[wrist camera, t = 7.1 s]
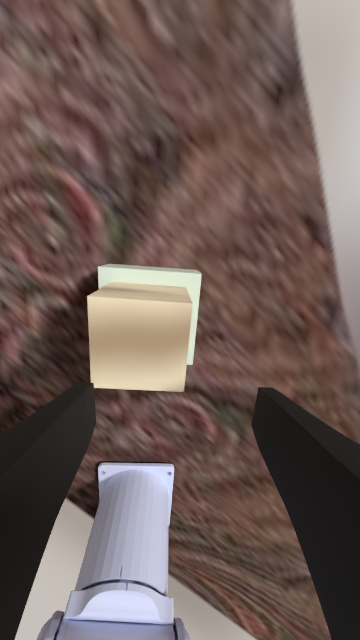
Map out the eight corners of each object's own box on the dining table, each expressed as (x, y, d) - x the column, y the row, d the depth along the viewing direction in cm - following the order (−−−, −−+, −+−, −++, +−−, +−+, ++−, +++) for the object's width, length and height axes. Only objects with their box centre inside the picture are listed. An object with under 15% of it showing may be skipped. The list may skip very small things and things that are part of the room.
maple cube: (180, 352, 17) (183, 391, 12) (113, 348, 17) (91, 387, 12) (185, 287, 16) (192, 303, 11) (113, 281, 15) (87, 295, 10)
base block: (189, 348, 20) (192, 364, 17) (111, 344, 20) (101, 360, 17) (196, 270, 18) (201, 273, 15) (109, 263, 18) (97, 266, 15)
